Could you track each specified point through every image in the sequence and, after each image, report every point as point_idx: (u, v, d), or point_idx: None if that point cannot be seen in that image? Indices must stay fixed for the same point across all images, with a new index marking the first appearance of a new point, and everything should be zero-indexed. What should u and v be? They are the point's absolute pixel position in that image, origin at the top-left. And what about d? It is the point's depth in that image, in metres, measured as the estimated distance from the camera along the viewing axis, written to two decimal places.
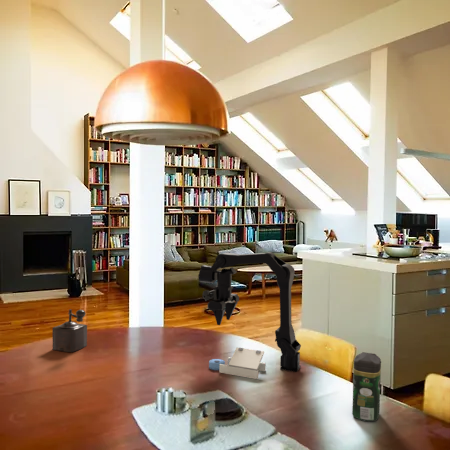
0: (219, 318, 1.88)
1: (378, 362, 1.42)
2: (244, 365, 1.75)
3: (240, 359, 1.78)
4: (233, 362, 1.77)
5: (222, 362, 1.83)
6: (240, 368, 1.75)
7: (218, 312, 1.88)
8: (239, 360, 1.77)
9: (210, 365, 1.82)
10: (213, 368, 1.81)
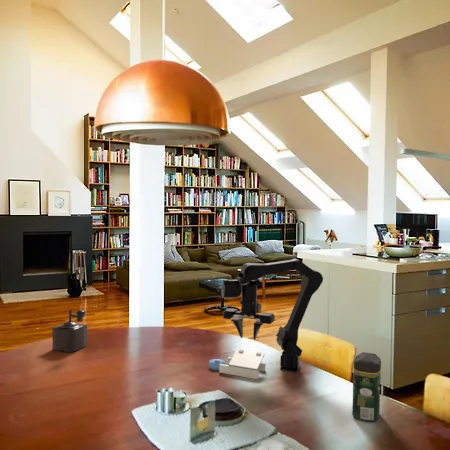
0: None
1: (378, 362, 1.42)
2: (244, 365, 1.75)
3: (240, 360, 1.78)
4: (233, 362, 1.77)
5: (222, 362, 1.83)
6: (240, 368, 1.75)
7: None
8: (239, 361, 1.78)
9: (210, 365, 1.82)
10: (213, 368, 1.81)
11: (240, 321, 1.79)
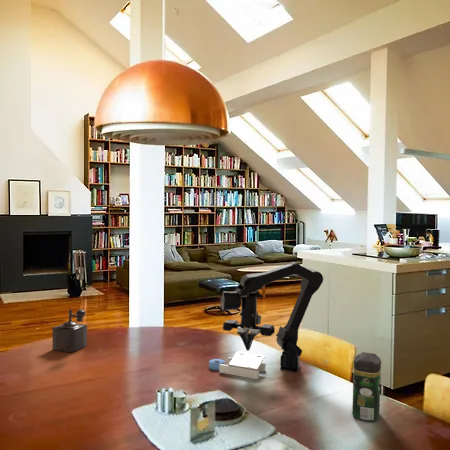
0: None
1: (378, 362, 1.42)
2: (244, 365, 1.75)
3: (241, 360, 1.78)
4: (233, 362, 1.77)
5: (222, 362, 1.83)
6: (240, 368, 1.75)
7: None
8: (239, 361, 1.78)
9: (210, 365, 1.82)
10: (213, 368, 1.81)
11: (246, 333, 1.79)
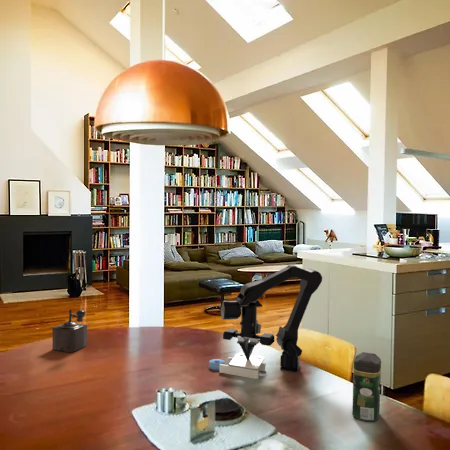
0: None
1: (378, 362, 1.42)
2: (244, 365, 1.75)
3: (241, 361, 1.78)
4: (233, 363, 1.77)
5: (222, 362, 1.83)
6: (240, 368, 1.75)
7: None
8: (239, 362, 1.78)
9: (210, 365, 1.82)
10: (213, 368, 1.81)
11: (246, 343, 1.79)
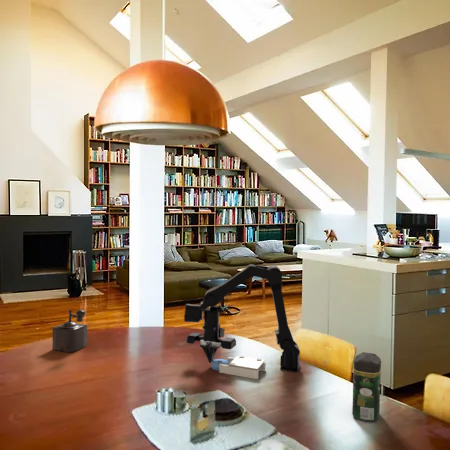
0: None
1: (378, 362, 1.42)
2: (244, 365, 1.75)
3: (241, 362, 1.79)
4: (233, 363, 1.78)
5: (224, 362, 1.83)
6: (240, 368, 1.75)
7: None
8: (239, 362, 1.78)
9: (213, 365, 1.81)
10: (216, 368, 1.80)
11: (209, 346, 1.84)
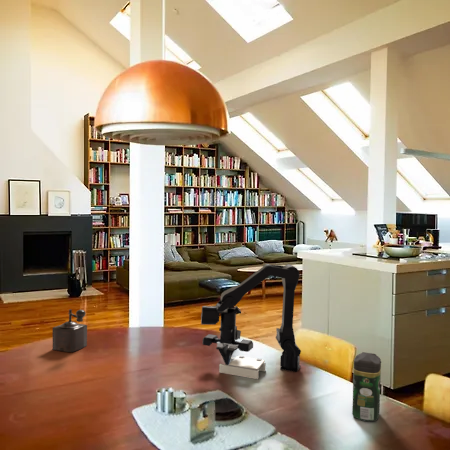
0: None
1: (378, 362, 1.42)
2: (244, 365, 1.75)
3: (241, 362, 1.79)
4: (233, 363, 1.78)
5: None
6: (240, 368, 1.75)
7: None
8: (239, 362, 1.78)
9: None
10: None
11: (225, 348, 1.81)
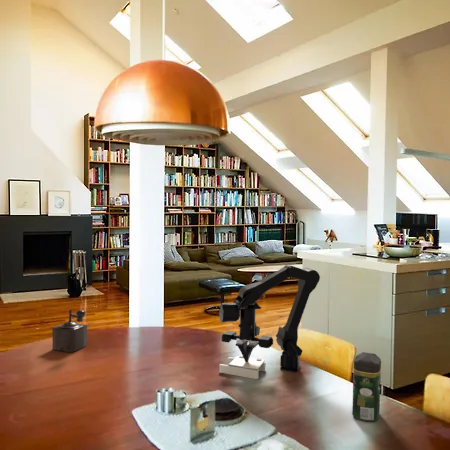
0: None
1: (378, 362, 1.42)
2: (244, 365, 1.75)
3: (241, 362, 1.79)
4: (233, 363, 1.78)
5: None
6: (240, 368, 1.75)
7: None
8: (239, 362, 1.78)
9: None
10: None
11: (244, 345, 1.78)
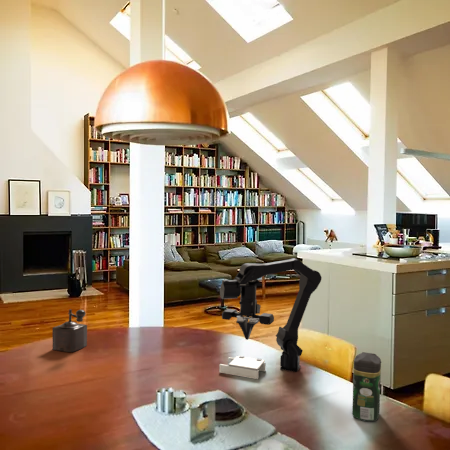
0: None
1: (378, 362, 1.42)
2: (244, 365, 1.75)
3: (241, 362, 1.79)
4: (233, 363, 1.78)
5: None
6: (240, 368, 1.75)
7: None
8: (239, 362, 1.78)
9: None
10: None
11: (245, 322, 1.78)
